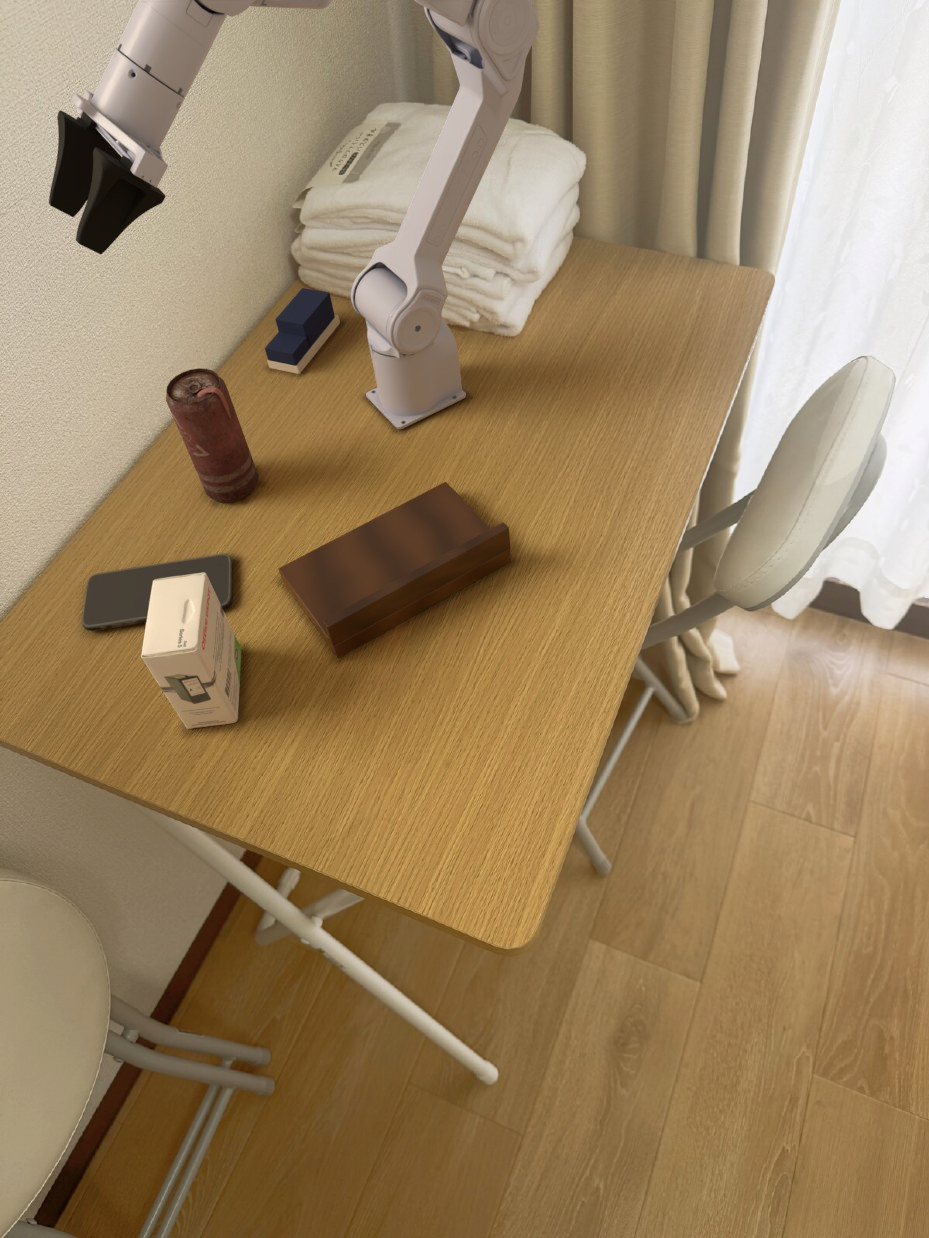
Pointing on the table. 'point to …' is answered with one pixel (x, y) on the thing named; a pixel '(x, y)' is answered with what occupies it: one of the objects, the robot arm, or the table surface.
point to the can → (212, 434)
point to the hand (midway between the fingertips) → (74, 228)
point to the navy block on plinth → (301, 330)
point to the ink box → (193, 650)
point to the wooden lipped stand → (394, 567)
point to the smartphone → (147, 589)
